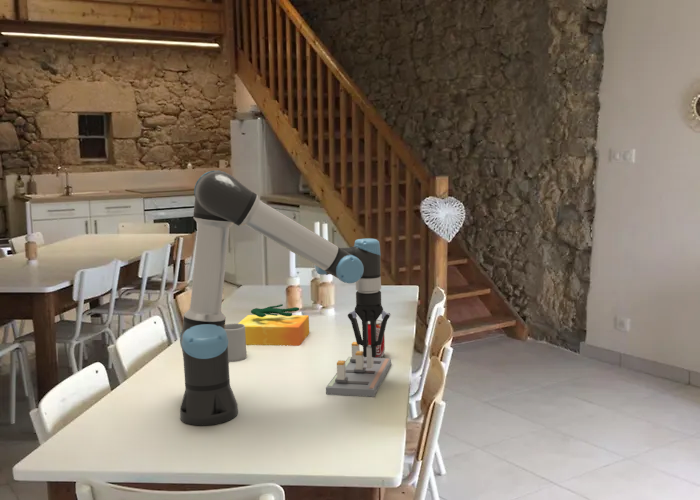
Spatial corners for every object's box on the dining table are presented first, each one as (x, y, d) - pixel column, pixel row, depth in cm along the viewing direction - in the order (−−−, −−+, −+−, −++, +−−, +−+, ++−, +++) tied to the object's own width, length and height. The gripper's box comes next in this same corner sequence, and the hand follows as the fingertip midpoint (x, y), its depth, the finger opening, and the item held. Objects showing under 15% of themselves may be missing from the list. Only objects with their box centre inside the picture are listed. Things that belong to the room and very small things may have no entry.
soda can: (367, 360, 233) (366, 325, 231) (361, 354, 240) (360, 320, 238) (387, 358, 235) (386, 323, 233) (381, 352, 242) (380, 318, 240)
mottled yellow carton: (298, 312, 251) (232, 312, 255) (299, 346, 253) (234, 345, 257) (308, 302, 268) (247, 301, 272) (309, 333, 270) (248, 333, 274)
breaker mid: (364, 372, 213) (363, 353, 212) (353, 372, 214) (353, 353, 213) (366, 369, 216) (365, 351, 215) (355, 369, 217) (355, 350, 216)
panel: (374, 396, 199) (373, 389, 199) (325, 394, 202) (325, 386, 202) (391, 364, 228) (391, 357, 228) (348, 362, 231) (348, 356, 231)
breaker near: (345, 382, 204) (345, 363, 203) (335, 382, 205) (334, 363, 204) (348, 379, 207) (347, 360, 206) (337, 379, 208) (336, 360, 207)
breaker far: (359, 362, 224) (359, 344, 223) (350, 361, 224) (349, 343, 223) (361, 359, 226) (361, 341, 225) (351, 359, 227) (351, 341, 226)
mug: (240, 362, 235) (238, 330, 233) (217, 361, 237) (215, 329, 236) (254, 352, 247) (253, 321, 245) (231, 350, 249) (230, 320, 247)
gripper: (392, 288, 213) (393, 364, 216) (349, 287, 216) (351, 362, 219) (387, 293, 205) (389, 371, 209) (344, 292, 208) (346, 370, 212)
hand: (370, 367), depth 214 cm, fingers closed
